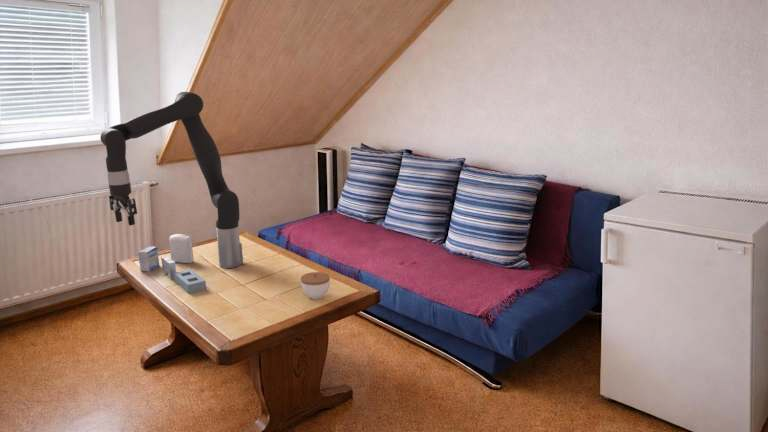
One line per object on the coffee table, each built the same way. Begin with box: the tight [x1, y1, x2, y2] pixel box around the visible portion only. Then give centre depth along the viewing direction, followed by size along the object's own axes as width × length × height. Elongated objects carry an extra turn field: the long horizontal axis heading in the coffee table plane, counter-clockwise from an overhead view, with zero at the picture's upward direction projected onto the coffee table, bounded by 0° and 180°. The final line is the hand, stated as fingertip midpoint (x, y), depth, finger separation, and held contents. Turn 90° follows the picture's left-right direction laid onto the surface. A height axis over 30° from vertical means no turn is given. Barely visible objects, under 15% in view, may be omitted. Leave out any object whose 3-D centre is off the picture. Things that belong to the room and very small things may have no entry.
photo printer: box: [168, 233, 195, 264], centre depth 274 cm, size 10×4×12 cm, turn 69°
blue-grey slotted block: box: [173, 268, 207, 294], centre depth 248 cm, size 7×16×4 cm, turn 36°
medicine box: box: [137, 246, 160, 273], centre depth 266 cm, size 8×4×9 cm, turn 168°
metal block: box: [160, 255, 177, 280], centre depth 258 cm, size 2×10×7 cm, turn 36°
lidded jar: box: [300, 271, 331, 300], centre depth 236 cm, size 11×11×9 cm
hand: (125, 223), depth 241 cm, fingers open, 8 cm apart
